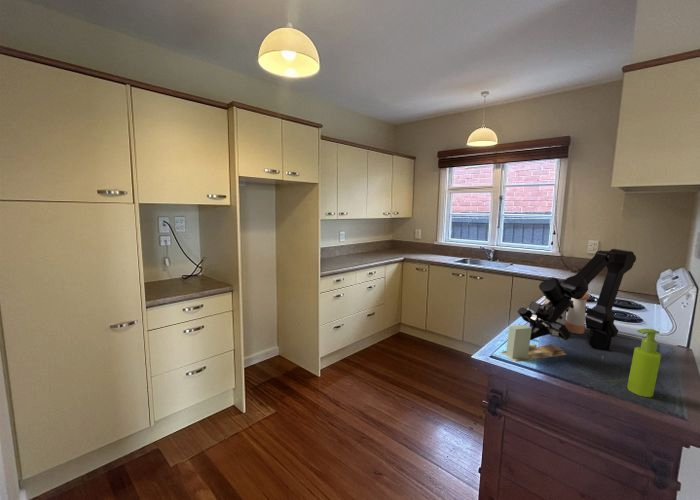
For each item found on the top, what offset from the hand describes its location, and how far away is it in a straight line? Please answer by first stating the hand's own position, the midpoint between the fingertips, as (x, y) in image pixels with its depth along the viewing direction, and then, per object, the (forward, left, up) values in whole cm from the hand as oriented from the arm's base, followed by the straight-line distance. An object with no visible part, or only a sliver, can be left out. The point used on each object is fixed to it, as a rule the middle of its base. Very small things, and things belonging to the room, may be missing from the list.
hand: (527, 339), depth 115 cm
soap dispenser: (-29, +11, -7) cm, 32 cm away
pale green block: (+3, +2, -6) cm, 7 cm away
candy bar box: (-16, -31, -7) cm, 36 cm away
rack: (-3, -2, -7) cm, 8 cm away
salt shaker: (-26, -36, -7) cm, 45 cm away
